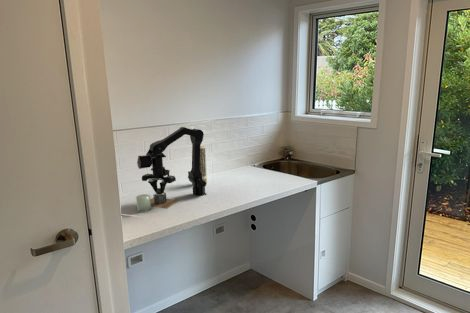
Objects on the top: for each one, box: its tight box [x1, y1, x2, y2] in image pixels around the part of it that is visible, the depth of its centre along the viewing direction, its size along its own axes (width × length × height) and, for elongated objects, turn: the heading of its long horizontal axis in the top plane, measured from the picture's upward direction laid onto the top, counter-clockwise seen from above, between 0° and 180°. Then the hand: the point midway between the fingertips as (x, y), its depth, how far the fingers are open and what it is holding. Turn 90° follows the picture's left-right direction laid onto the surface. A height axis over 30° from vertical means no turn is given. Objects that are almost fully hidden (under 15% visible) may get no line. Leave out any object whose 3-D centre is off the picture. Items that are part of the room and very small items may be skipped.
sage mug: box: [135, 193, 152, 213], centre depth 189 cm, size 7×9×8 cm
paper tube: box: [200, 145, 208, 185], centre depth 234 cm, size 7×7×25 cm
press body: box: [152, 192, 168, 205], centre depth 201 cm, size 7×8×5 cm
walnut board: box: [150, 197, 182, 209], centre depth 200 cm, size 18×14×1 cm
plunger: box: [155, 187, 165, 196], centre depth 199 cm, size 4×4×7 cm
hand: (159, 193), depth 199 cm, fingers open, 4 cm apart
